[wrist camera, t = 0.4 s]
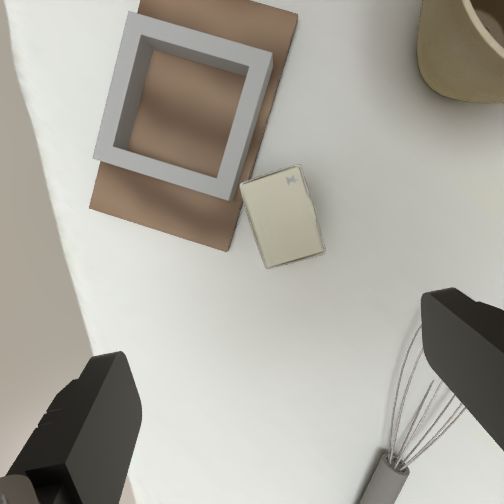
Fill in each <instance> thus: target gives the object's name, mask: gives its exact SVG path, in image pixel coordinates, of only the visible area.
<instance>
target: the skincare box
mask: <svg viewBox="0 0 504 504" xmlns="http://www.w3.org/2000/svg"><path fill="white" fill-rule="evenodd" d="M240 190H241V194H242V198H243V202H244V205H245V209H246V212H247V215H248V219H249V222H250V225H251V228H252V231H253V234H254V237H255V240H256V243H257V246H258V249H259V251H260V254H261V257H262V260H263V263H264V265H265V268H266V269H270V268H274V267H278V266H282V265H286V264H290V263H294V262H298V261H301V260H305V259H309V258H312V257H316V256H319V255H323V254H324V253H325V252H326V248H325V245H324V241H323V238H322V234H321V231H320V227H319V224H318V221H317V217H316V214H315V210H314V207H313V204H312V201H311V197H310V194H309V191H308V187H307V184H306V181H305V178H304V175H303V171H302V168H301V165H300V164H297V165H294V166H290V167H287V168H284V169H280V170H277V171H274V172H271V173H268V174H265V175H262V176H259V177H256V178H253V179H250V180H248V181H245V182H242V183H241V184H240Z"/></svg>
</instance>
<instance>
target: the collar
mask: <svg viewBox="0 0 504 504" xmlns="http://www.w3.org/2000/svg"><path fill="white" fill-rule="evenodd" d="M153 49H154V50H157V51H160V52H164V53H167V54H171V55H174V56H177V57H181V58H184V59H188V60H191V61H194V62H198V63H201V64H204V65H208V66H211V67H215V68H218V69H221V70H225V71H228V72H232V73H235V74H238V75H242V76H245V77H246V80H245V83H244V87H243V90H242V93H241V97H240V100H239V104H238V107H237V111H236V114H235V118H234V121H233V124H232V128H231V131H230V135H229V138H228V142H227V145H226V149H225V152H224V155H223V159H222V162H221V166H220V169H219V173H218V176H217V179H216V178H213V177H210V176H207V175H204V174H200V173H197V172H194V171H191V170H187V169H184V168H181V167H178V166H174V165H171V164H168V163H165V162H162V161H158V160H155V159H152V158H149V157H145V156H142V155H139V154H136V153H132V152H129V151H127V149H128V146H129V142H130V138H131V134H132V130H133V126H134V122H135V118H136V114H137V110H138V107H139V103H140V99H141V95H142V91H143V87H144V83H145V79H146V75H147V71H148V68H149V64H150V60H151V56H152V52H153ZM272 69H273V55H272V53H271V52H268V51H264V50H261V49H258V48H254V47H251V46H247V45H244V44H240V43H237V42H234V41H230V40H227V39H223V38H220V37H216V36H213V35H209V34H206V33H203V32H199V31H196V30H192V29H189V28H185V27H182V26H179V25H175V24H172V23H168V22H165V21H161V20H158V19H155V18H151V17H148V16H144V15H141V14H137V13H134V12H130V11H128V15H127V20H126V24H125V28H124V32H123V36H122V40H121V44H120V48H119V52H118V56H117V60H116V64H115V68H114V73H113V77H112V81H111V85H110V89H109V93H108V97H107V101H106V105H105V109H104V113H103V117H102V121H101V126H100V130H99V134H98V138H97V142H96V146H95V150H94V154H93V159H96V160H99V161H103V162H106V163H109V164H112V165H115V166H119V167H122V168H125V169H128V170H131V171H135V172H138V173H141V174H144V175H148V176H151V177H154V178H157V179H160V180H164V181H167V182H170V183H173V184H176V185H180V186H183V187H186V188H189V189H192V190H196V191H199V192H202V193H205V194H208V195H212V196H215V197H218V198H221V199H224V200H228V201H233V200H234V197H235V193H236V190H237V187H238V183H239V180H240V177H241V173H242V170H243V167H244V163H245V160H246V156H247V153H248V150H249V146H250V143H251V140H252V136H253V133H254V130H255V126H256V123H257V120H258V116H259V113H260V110H261V106H262V103H263V100H264V96H265V93H266V90H267V86H268V83H269V79H270V76H271V73H272Z"/></svg>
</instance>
